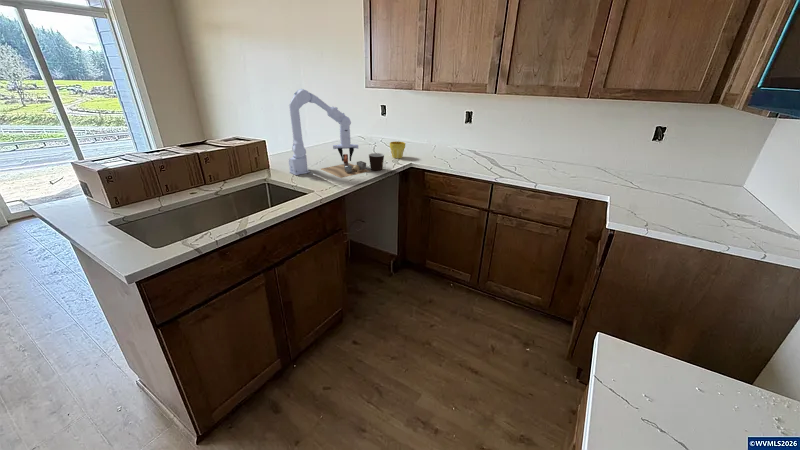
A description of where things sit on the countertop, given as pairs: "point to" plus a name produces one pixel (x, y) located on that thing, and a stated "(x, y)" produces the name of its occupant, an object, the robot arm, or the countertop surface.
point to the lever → (347, 164)
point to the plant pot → (397, 149)
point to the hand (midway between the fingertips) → (346, 160)
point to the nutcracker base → (341, 172)
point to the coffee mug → (376, 161)
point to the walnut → (356, 167)
